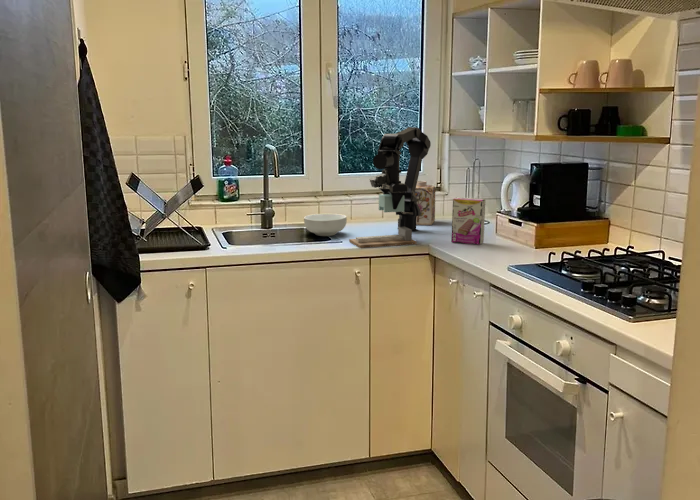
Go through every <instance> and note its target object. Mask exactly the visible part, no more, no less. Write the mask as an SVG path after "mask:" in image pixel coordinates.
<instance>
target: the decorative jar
mask: <svg viewBox="0 0 700 500" xmlns="http://www.w3.org/2000/svg"><path fill="white" fill-rule="evenodd" d="M436 192H437V191H436V187H435V186H434V185H431V184H427V181H426V180H417V185H416V189H415V195H416V197H417V204H418V206H419V208H420V215H419V216H416V226H432V225H433V224H434V222H435V220H436ZM409 213H410V212H409ZM412 213H413V212H412Z"/></svg>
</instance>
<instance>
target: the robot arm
mask: <svg viewBox="0 0 700 500" xmlns="http://www.w3.org/2000/svg"><path fill="white" fill-rule="evenodd" d="M404 143H406V144H407V146H408V148H407V150H408V152H409V155H410V158H409V163H408V166H407V171H406V175H405V179H404V183H403V182H402V180H400V174H401V173H402V170H401V169H400V162H401V160H400V159H401V158H400V157H401V155H402V152H401V149H402V148H403V147H404V145H405V144H404ZM430 148H431V140H430V138H429V137H428V135H427V134H426V133H424V132H422V131H421V129H420V128H419V127H414V126H410V127H409V126H408V127H406V128H405V129H403V130H400V131H398V132H396V133H384V134H383V136H382V137H381V140H380V143H379V146H378V148H377V153H376V155H374V157H373V159H372V164H373V166H374V167H375V169H377V170H381V174H378V175H375V176H373V177H370V178H369V182H370V185H371V187H372V188H374V189H375V188H376V189H377V188H378V190H379V191H381V193H382V194H390V195H391V196H392V204H393V209H397V207H398V204H399V202H400V200H401V198H402V197H403V196H404V212H395V215H396V216H398V218H397V230H398V227H406V228H409V229H411V230H412V232H417V231H418V230H419V229H418V228H417V225H416V216H419V215H420V208H419V206H418V204H417V197H416V195H415V189H416V185H417V181H419V175H420V170H421V166H422V163H423V162H422V161H423V159H424V158H425V157H426V156H427V155H428V153H429V150H430ZM409 212H410V213H409ZM412 212H413V213H412Z"/></svg>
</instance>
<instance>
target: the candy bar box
mask: <svg viewBox="0 0 700 500" xmlns="http://www.w3.org/2000/svg"><path fill="white" fill-rule="evenodd" d="M451 215H452V217H451V243H455V244H456V243H458V244H467V245H469V244H471V245H477V246H478V245H482V244H483V243H484V242H485V241H484V240H485V218H486V217H485V215H486V198H474V197H473V198H470V197H458V196H457V197H454V198H452V213H451Z"/></svg>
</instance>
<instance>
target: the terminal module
mask: <svg viewBox="0 0 700 500" xmlns="http://www.w3.org/2000/svg"><path fill="white" fill-rule="evenodd" d="M378 211H383V213H396V212H404V196H403V197H402V198H401V200H400V202H399V204H398V207H397V209H393V204H392V196H391V195H390V194H383V193H382V194H378Z"/></svg>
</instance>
